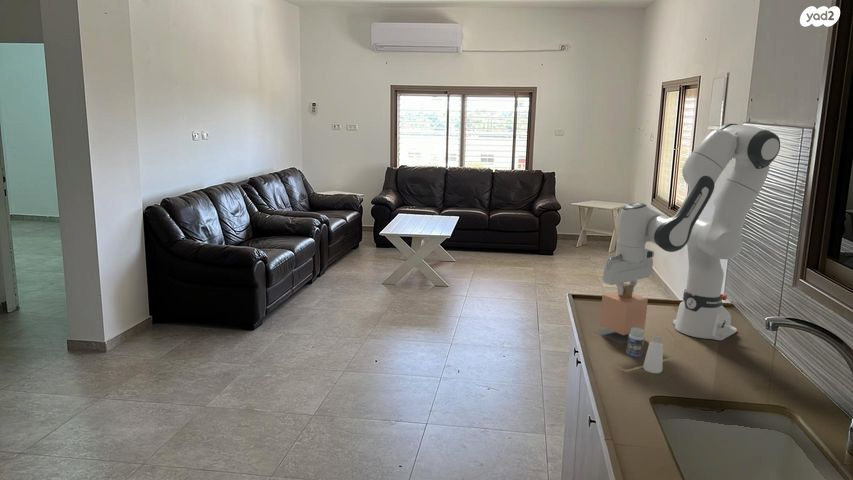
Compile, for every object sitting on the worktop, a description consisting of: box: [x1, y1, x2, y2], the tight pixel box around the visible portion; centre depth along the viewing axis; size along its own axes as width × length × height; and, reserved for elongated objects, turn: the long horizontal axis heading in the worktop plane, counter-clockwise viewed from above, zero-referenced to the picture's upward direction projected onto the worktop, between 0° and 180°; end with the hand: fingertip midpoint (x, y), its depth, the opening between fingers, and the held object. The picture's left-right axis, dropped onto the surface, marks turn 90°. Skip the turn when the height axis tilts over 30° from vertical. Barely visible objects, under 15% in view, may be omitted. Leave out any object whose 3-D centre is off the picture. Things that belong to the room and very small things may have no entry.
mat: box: [594, 328, 631, 345], centre depth 212 cm, size 12×12×1 cm
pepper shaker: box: [642, 333, 664, 374], centre depth 186 cm, size 5×5×11 cm
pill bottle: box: [625, 327, 645, 357], centre depth 196 cm, size 5×5×8 cm
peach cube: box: [599, 282, 649, 335], centre depth 210 cm, size 10×10×15 cm
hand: (625, 293), depth 209 cm, fingers closed on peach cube, 3 cm apart
